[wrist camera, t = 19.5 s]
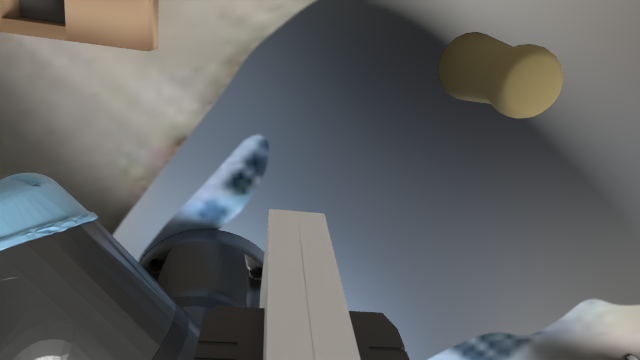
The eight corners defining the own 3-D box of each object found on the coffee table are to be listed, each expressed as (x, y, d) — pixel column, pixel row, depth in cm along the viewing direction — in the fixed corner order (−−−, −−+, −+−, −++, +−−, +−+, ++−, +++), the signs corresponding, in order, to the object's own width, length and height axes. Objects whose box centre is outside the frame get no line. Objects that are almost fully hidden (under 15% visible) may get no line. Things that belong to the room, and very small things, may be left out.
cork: (433, 97, 42) (485, 126, 31) (444, 29, 40) (504, 35, 29) (494, 101, 42) (565, 131, 32) (509, 34, 40) (589, 43, 30)
